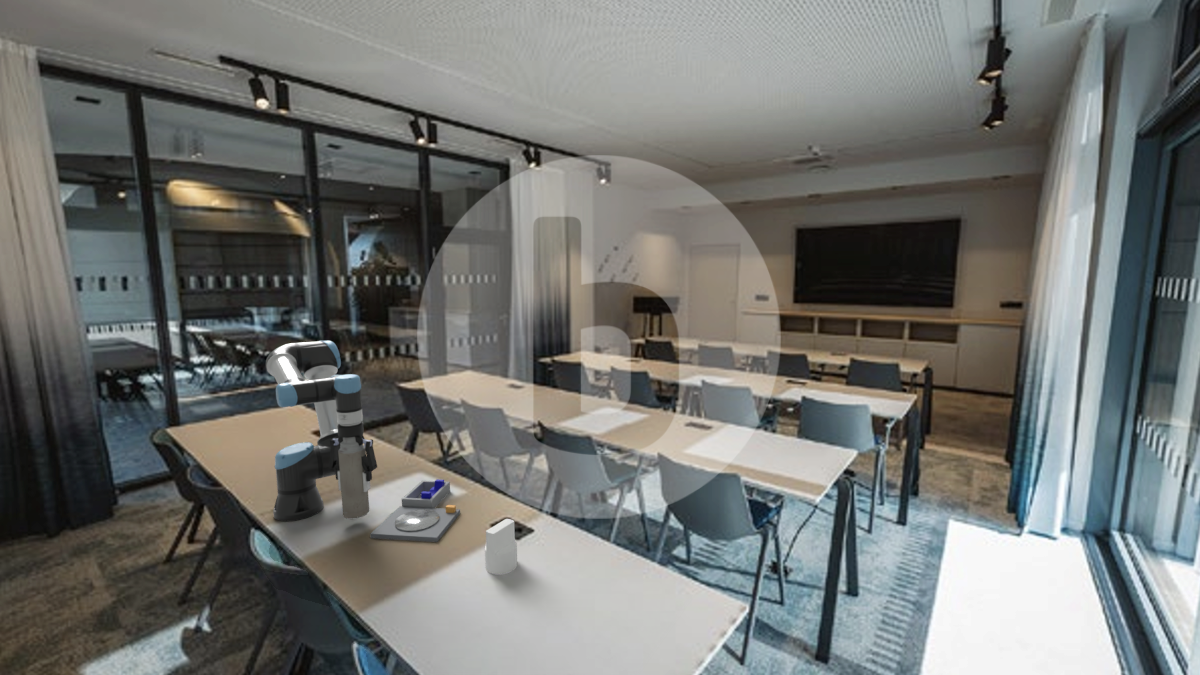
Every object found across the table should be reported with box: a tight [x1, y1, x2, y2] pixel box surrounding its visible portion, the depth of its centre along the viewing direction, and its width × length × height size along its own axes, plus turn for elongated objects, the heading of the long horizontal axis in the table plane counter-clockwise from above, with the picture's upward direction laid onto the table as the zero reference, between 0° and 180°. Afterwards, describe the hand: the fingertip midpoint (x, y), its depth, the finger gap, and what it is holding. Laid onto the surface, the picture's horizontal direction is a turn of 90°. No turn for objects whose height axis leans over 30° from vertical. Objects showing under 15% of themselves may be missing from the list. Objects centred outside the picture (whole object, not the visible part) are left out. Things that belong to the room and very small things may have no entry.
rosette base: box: [369, 504, 461, 543], centre depth 170 cm, size 22×19×4 cm
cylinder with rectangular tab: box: [484, 518, 518, 576], centre depth 146 cm, size 9×9×12 cm
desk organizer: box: [401, 480, 451, 508], centre depth 188 cm, size 11×16×4 cm
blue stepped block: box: [420, 478, 445, 499], centre depth 187 cm, size 12×4×6 cm, turn 171°
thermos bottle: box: [338, 437, 370, 520], centre depth 168 cm, size 8×8×28 cm
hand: (354, 489), depth 169 cm, fingers closed on thermos bottle, 8 cm apart
